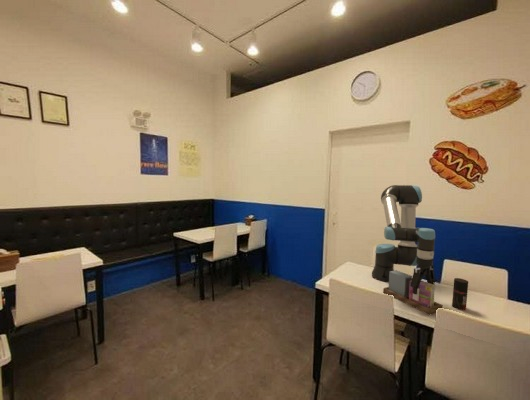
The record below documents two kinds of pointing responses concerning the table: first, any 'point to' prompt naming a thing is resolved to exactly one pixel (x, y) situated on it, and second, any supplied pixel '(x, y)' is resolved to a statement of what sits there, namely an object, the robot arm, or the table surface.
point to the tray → (416, 305)
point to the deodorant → (460, 294)
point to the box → (424, 294)
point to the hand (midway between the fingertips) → (422, 297)
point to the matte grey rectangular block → (399, 282)
